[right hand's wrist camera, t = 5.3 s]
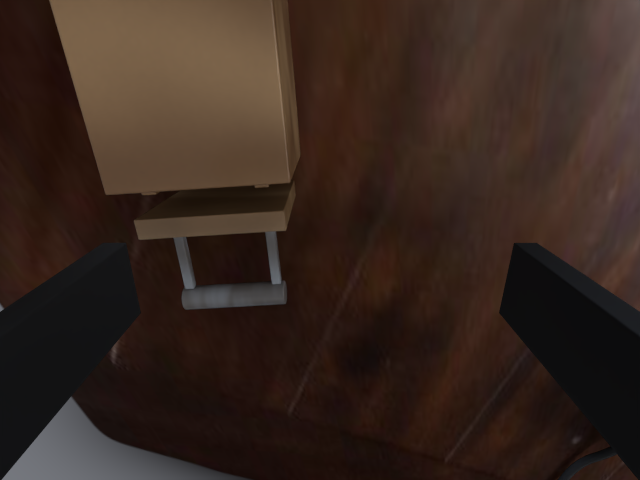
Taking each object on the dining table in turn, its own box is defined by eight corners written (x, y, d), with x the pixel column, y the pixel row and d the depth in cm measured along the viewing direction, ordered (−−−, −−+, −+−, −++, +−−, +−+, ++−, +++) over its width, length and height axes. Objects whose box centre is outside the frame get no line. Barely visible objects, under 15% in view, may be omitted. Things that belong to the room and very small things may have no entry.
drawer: (302, 266, 30) (296, 321, 23) (201, 272, 30) (162, 329, 23) (265, -128, 21) (233, -254, 13) (121, -115, 21) (11, -232, 14)
